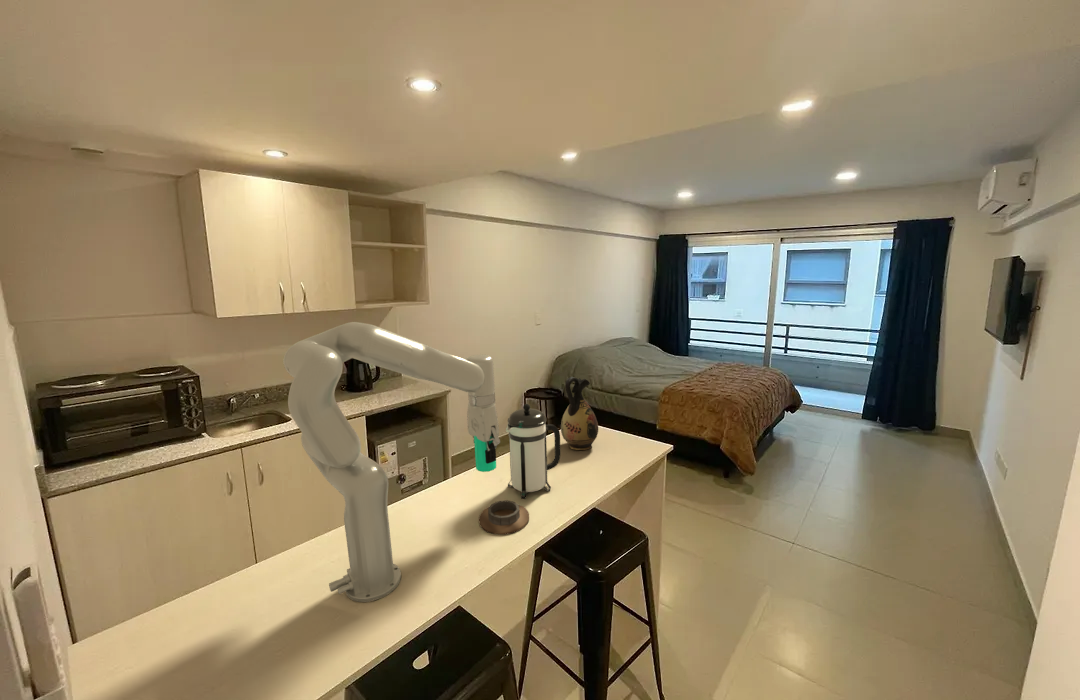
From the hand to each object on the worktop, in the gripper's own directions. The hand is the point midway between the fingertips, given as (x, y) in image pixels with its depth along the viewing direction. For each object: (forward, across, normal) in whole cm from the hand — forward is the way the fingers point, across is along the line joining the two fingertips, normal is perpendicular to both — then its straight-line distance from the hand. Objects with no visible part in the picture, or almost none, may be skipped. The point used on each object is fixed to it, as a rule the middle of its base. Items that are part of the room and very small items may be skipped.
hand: (485, 458), depth 126 cm
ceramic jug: (+21, -20, +57) cm, 64 cm away
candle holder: (+20, +3, +3) cm, 20 cm away
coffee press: (+20, -7, +22) cm, 30 cm away
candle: (+3, 0, 0) cm, 3 cm away
